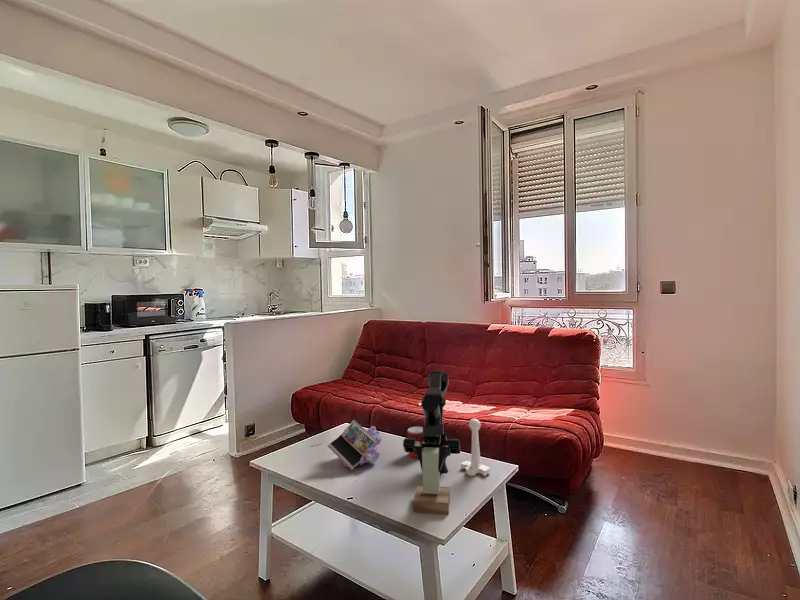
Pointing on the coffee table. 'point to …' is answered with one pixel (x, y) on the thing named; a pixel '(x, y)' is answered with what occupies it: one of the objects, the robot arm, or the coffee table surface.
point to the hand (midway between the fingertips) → (430, 471)
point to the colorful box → (357, 445)
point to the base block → (432, 501)
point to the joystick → (475, 453)
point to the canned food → (417, 434)
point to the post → (430, 470)
